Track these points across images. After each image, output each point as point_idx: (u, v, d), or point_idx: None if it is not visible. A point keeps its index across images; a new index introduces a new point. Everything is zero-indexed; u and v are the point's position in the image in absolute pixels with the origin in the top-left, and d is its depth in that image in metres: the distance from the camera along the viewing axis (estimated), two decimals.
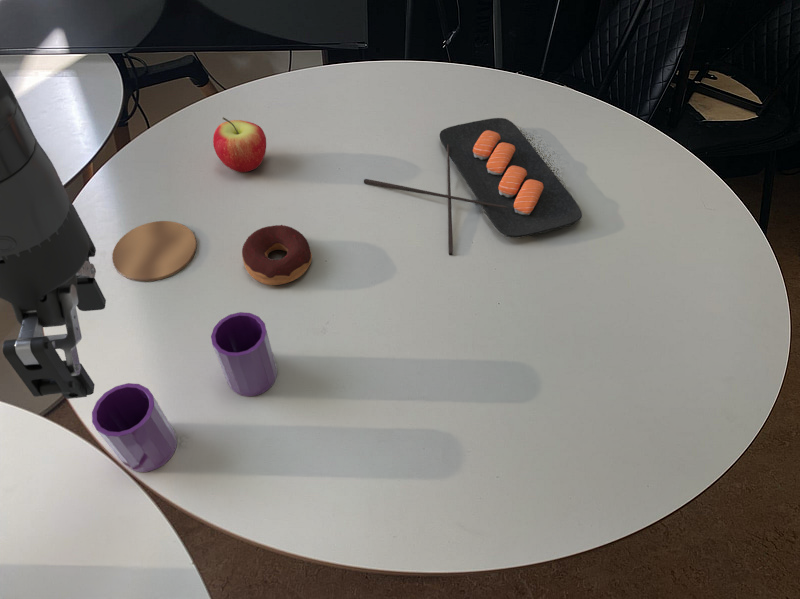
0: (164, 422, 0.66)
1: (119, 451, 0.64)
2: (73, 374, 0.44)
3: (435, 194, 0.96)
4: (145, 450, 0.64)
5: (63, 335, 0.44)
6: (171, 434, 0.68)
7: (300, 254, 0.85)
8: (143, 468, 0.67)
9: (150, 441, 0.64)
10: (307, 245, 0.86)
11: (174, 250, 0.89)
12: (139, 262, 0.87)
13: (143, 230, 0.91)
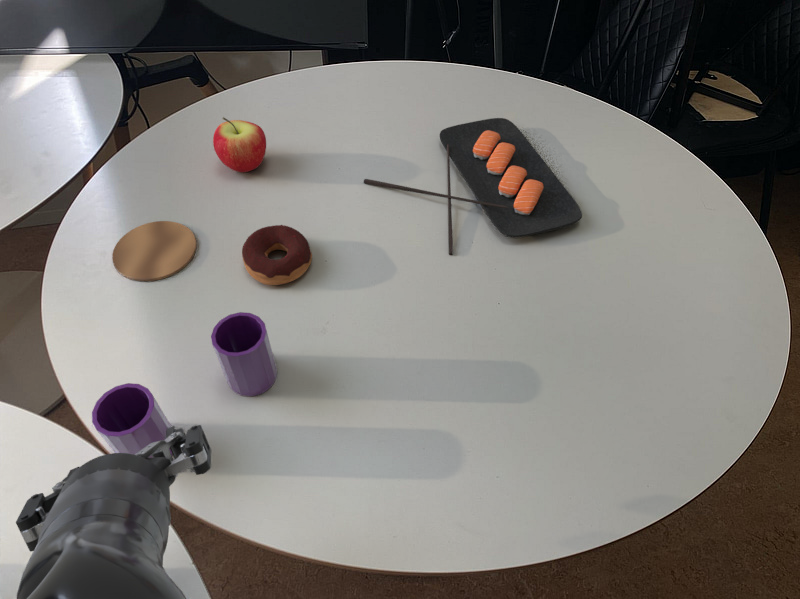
0: (164, 422, 0.66)
1: (119, 451, 0.64)
2: None
3: (435, 194, 0.96)
4: None
5: None
6: None
7: (300, 254, 0.85)
8: None
9: (150, 441, 0.64)
10: (307, 245, 0.86)
11: (174, 250, 0.89)
12: (139, 262, 0.87)
13: (143, 230, 0.91)
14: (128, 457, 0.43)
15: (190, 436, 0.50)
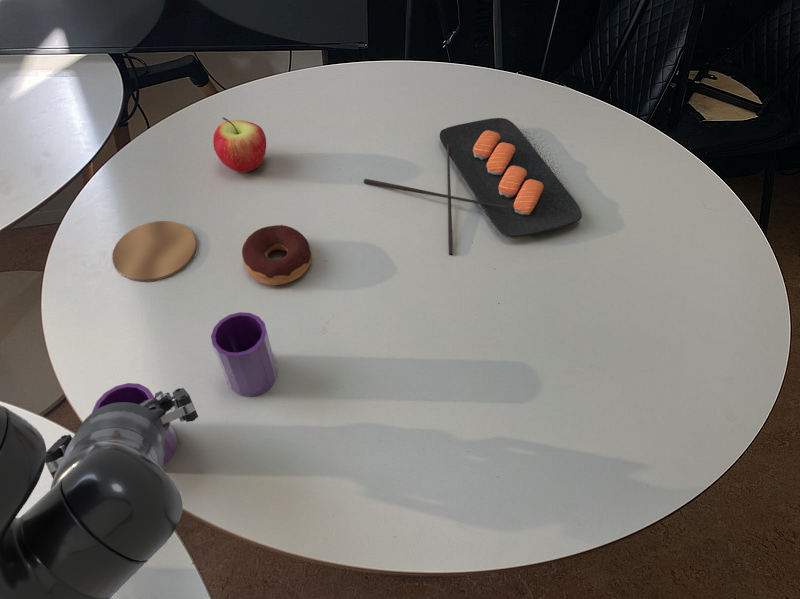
0: None
1: None
2: None
3: (435, 194, 0.96)
4: None
5: None
6: (171, 434, 0.68)
7: (300, 254, 0.85)
8: None
9: None
10: (307, 245, 0.86)
11: (174, 250, 0.89)
12: (139, 262, 0.87)
13: (143, 230, 0.91)
14: (131, 405, 0.54)
15: (178, 394, 0.61)
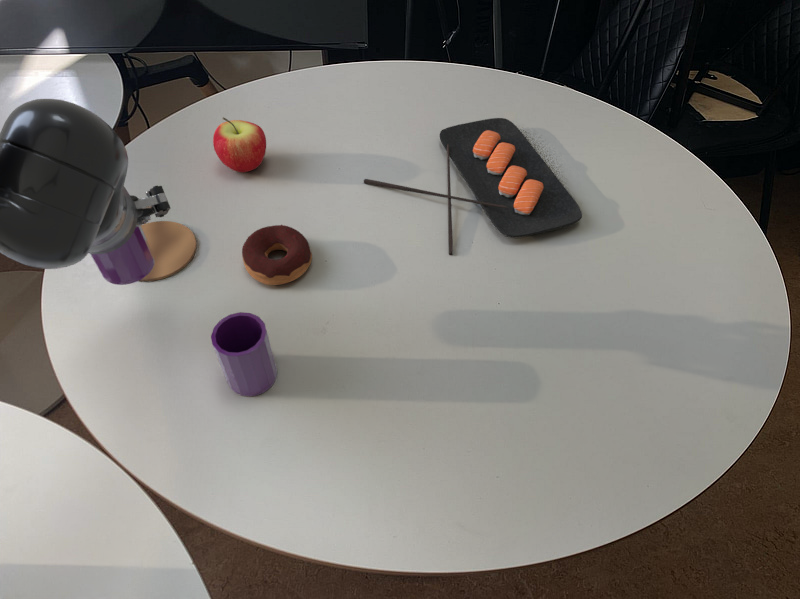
0: (141, 233, 0.69)
1: None
2: None
3: (435, 194, 0.96)
4: (122, 254, 0.68)
5: None
6: (148, 250, 0.71)
7: (300, 254, 0.85)
8: (121, 279, 0.70)
9: (126, 245, 0.67)
10: (307, 245, 0.86)
11: (174, 250, 0.89)
12: None
13: (143, 230, 0.91)
14: None
15: None
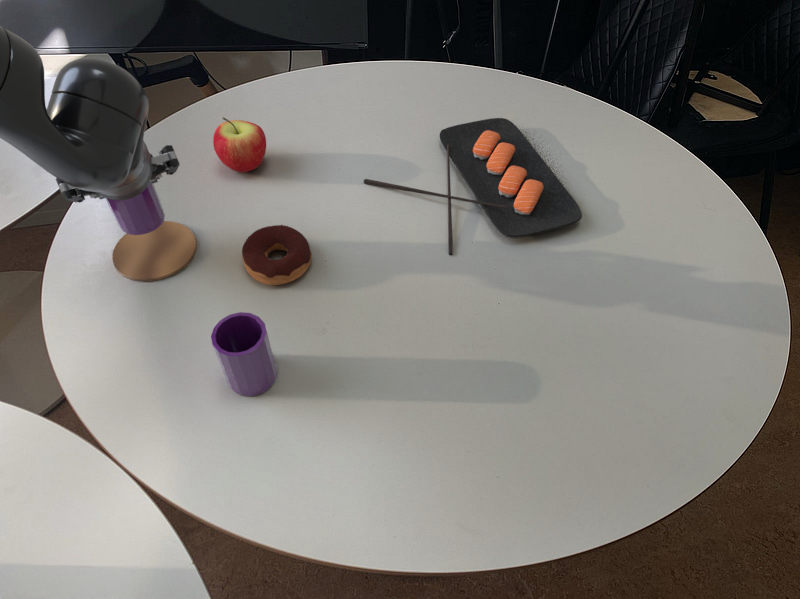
0: (153, 189, 0.81)
1: (117, 206, 0.78)
2: (90, 196, 0.76)
3: (435, 194, 0.96)
4: (138, 207, 0.79)
5: None
6: (159, 205, 0.83)
7: (300, 254, 0.85)
8: (136, 229, 0.82)
9: (141, 199, 0.79)
10: (307, 245, 0.86)
11: (174, 250, 0.89)
12: (139, 262, 0.87)
13: None
14: None
15: None
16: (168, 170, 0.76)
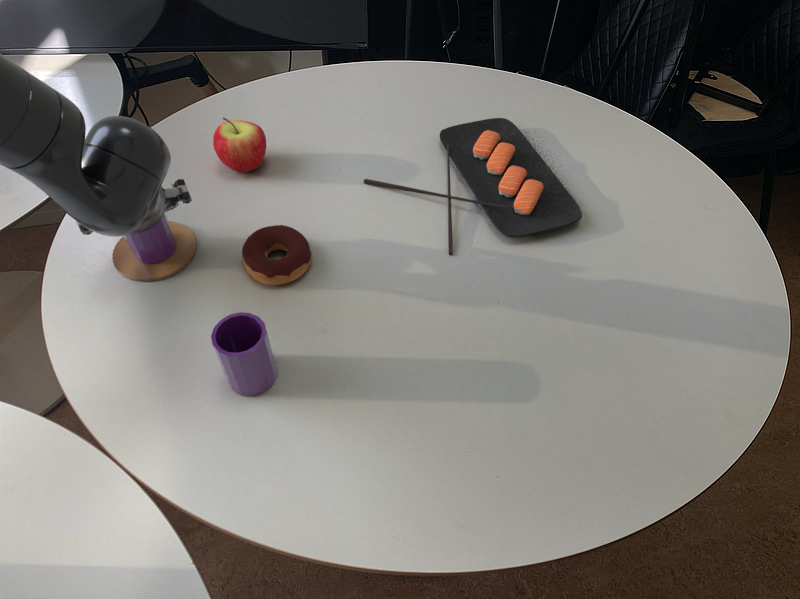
0: (166, 221, 0.85)
1: (132, 238, 0.83)
2: None
3: (435, 194, 0.96)
4: (152, 239, 0.84)
5: None
6: (172, 235, 0.87)
7: (300, 254, 0.85)
8: (150, 259, 0.86)
9: (155, 231, 0.83)
10: (307, 245, 0.86)
11: None
12: (139, 262, 0.87)
13: None
14: None
15: None
16: (182, 201, 0.80)
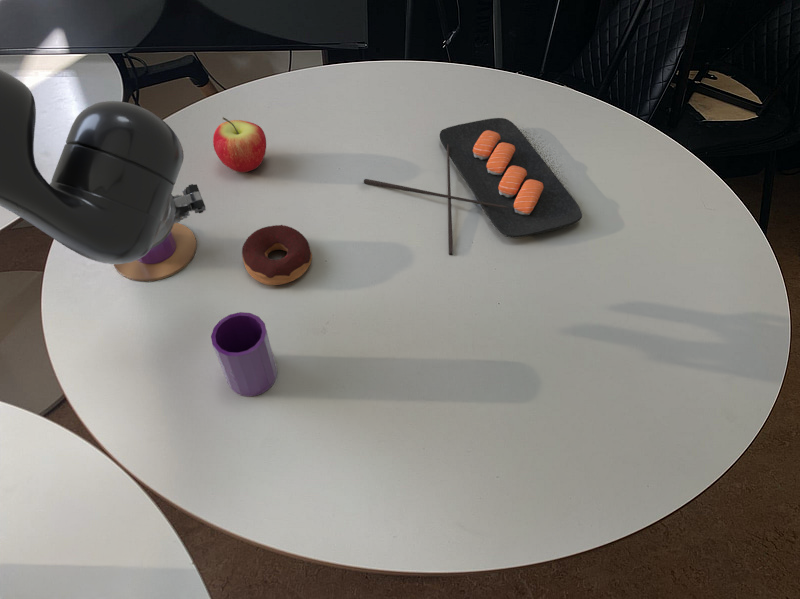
0: None
1: None
2: None
3: (435, 194, 0.96)
4: None
5: None
6: (172, 235, 0.87)
7: (300, 254, 0.85)
8: (150, 259, 0.86)
9: None
10: (307, 245, 0.86)
11: None
12: (139, 262, 0.87)
13: None
14: None
15: None
16: None
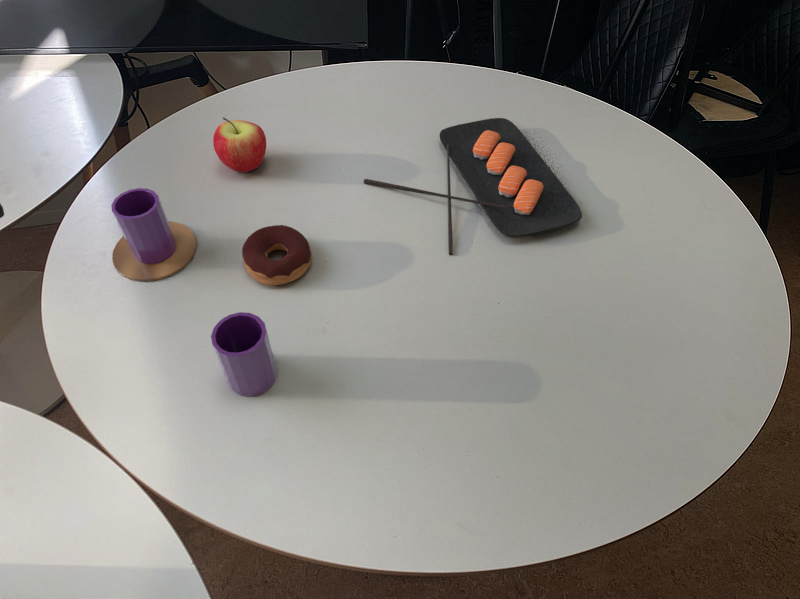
0: (166, 221, 0.85)
1: (132, 238, 0.83)
2: None
3: (435, 194, 0.96)
4: (152, 239, 0.84)
5: None
6: (172, 235, 0.87)
7: (300, 254, 0.85)
8: (150, 259, 0.86)
9: (155, 231, 0.83)
10: (307, 245, 0.86)
11: None
12: (139, 262, 0.87)
13: None
14: None
15: None
16: None
